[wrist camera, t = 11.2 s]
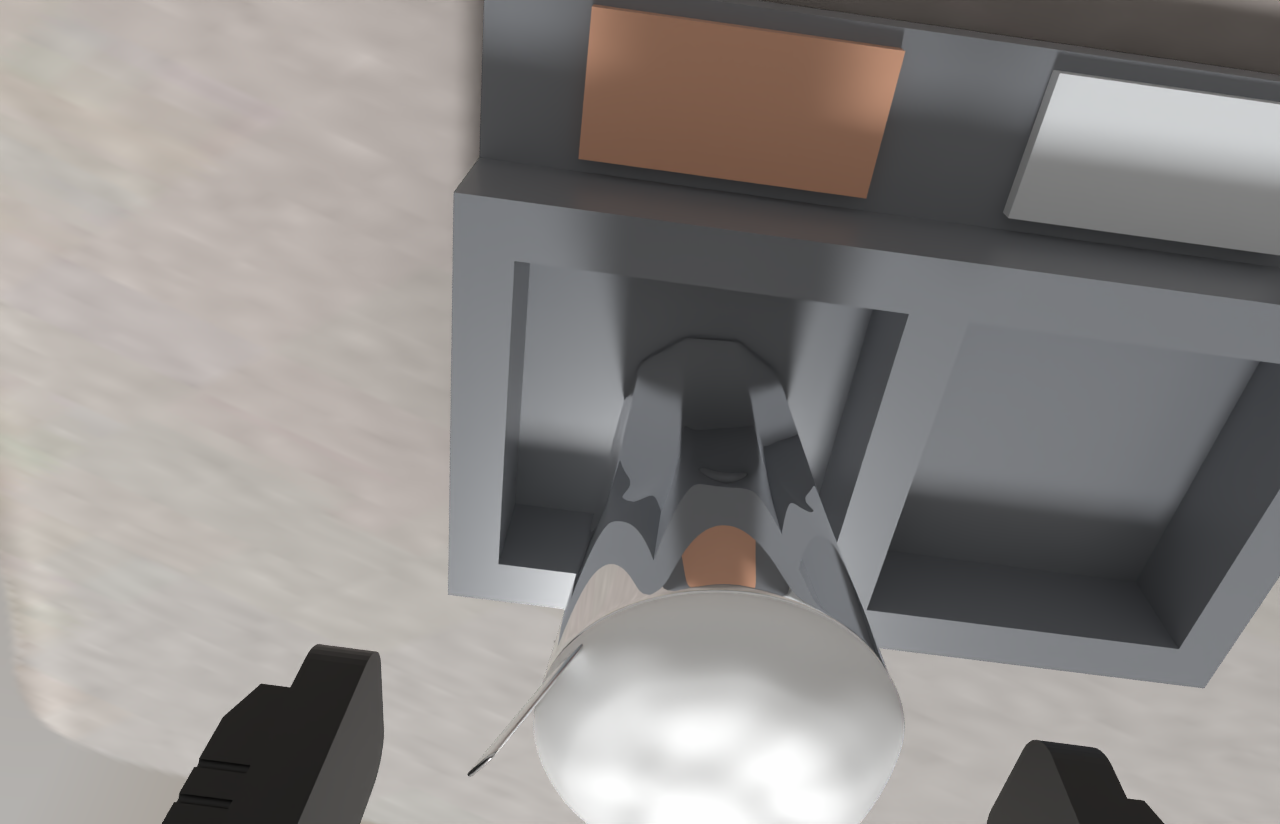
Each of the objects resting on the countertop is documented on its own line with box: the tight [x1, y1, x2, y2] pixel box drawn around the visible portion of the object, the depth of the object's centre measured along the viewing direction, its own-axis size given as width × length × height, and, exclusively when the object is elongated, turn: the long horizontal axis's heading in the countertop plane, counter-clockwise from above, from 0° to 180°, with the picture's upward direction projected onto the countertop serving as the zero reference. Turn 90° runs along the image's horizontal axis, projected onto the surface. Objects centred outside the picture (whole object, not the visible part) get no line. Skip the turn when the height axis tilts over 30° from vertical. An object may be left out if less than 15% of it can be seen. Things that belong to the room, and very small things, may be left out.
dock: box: [448, 0, 1280, 688], centre depth 17 cm, size 16×12×3 cm
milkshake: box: [468, 338, 905, 824], centre depth 13 cm, size 4×5×10 cm
